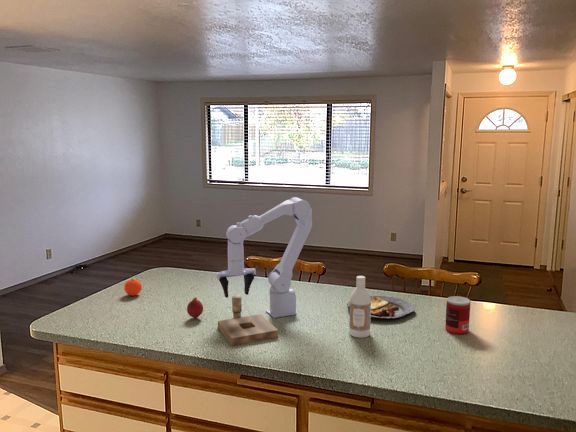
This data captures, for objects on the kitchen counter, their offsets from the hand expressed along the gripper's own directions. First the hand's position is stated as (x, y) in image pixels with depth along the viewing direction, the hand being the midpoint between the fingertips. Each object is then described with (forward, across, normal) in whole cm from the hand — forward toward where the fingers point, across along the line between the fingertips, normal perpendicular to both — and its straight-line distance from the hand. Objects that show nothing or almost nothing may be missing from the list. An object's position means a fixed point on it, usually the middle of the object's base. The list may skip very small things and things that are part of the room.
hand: (236, 295), depth 182 cm
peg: (+9, 0, 0) cm, 9 cm away
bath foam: (+9, -33, +31) cm, 46 cm away
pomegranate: (+9, +14, -6) cm, 18 cm away
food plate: (+9, -52, +15) cm, 55 cm away
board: (+9, +1, +14) cm, 17 cm away
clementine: (+9, +31, -43) cm, 54 cm away
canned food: (+9, -65, +42) cm, 78 cm away
